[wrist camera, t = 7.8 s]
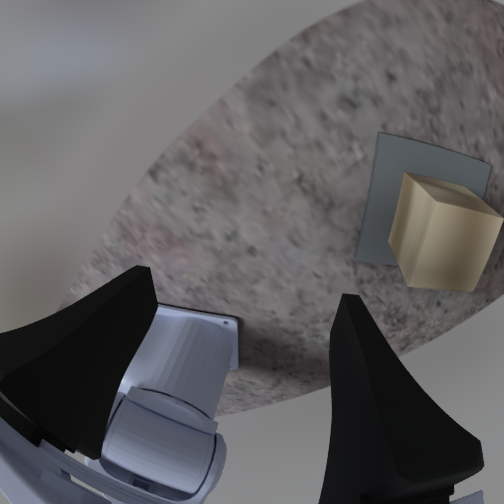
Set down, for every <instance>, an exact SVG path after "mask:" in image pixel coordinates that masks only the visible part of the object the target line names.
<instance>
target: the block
mask: <svg viewBox="0 0 504 504" xmlns="http://www.w3.org/2000/svg"><path fill="white" fill-rule="evenodd" d="M503 219H504V218H502V217H501V216H500V215H499V214H498V213H497V212H496V211H495V210H493V209H492V208H491V207H490V206H489V205H487V204H486V203H485V202H484V201H483V200H481V199H480V198H479V197H478V196H476V195H475V194H474V193H473V192H471V191H470V190H469V189H467V188H466V187H464V186H461V185H457V184H454V183H450V182H446V181H442V180H438V179H434V178H430V177H426V176H421V175H417V174H412V173H408V172H404V176H403V181H402V186H401V191H400V195H399V200H398V204H397V208H396V212H395V216H394V220H393V224H392V228H391V232H390V236H389V239H388V242H389V245H390V247H391V249H392V251H393V253H394V256H395V258H396V260H397V262H398V265H399V267H400V269H401V272H402V274H403V276H404V279H405V281H406V284H407V286H408V287H418V288H429V289H441V290H452V291H465V292H473V291H474V289H475V287H476V285H477V283H478V280H479V278H480V276H481V274H482V272H483V270H484V268H485V265H486V263H487V261H488V259H489V256H490V254H491V251H492V249H493V247H494V244H495V241H496V239H497V236H498V233H499V231H500V228H501V225H502V222H503Z"/></svg>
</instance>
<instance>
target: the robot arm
mask: <svg viewBox="0 0 504 504" xmlns="http://www.w3.org/2000/svg"><path fill="white" fill-rule="evenodd" d="M226 321H227V322H226ZM329 362H330V379H331V398H332V423H331V434H330V443H329V451H328V458H327V465H326V471H325V476H324V482H323V486H322V491H321V496H320V499H319V504H484V503H483V491H482V490H480V491H478V492H475V493H473V494H470V495H468V496H465V497H462V498H460V499H457V500H454V501H451V502H449V496H450V495H453V494H454V485H455V484H457V483H459V482H461V481H463V480H465V479H467V478H469V477H471V476H473V475H475V474H476V473H478V472H479V471H481V470H482V468H483V467H484V460H483V453H482V447H481V443H480V440H478V439H477V438H476V437H474V436H473V435H472V434H470V433H469V432H468V431H466V430H465V429H464V428H463V427H461V426H460V425H459V424H458V423H456V422H455V421H454V420H453V419H452V418H451V417H450V416H449V415H448V414H446V413H445V412H444V411H443V410H442V409H441V408H440V407H439V406H438V405H437V404H436V403H435V402H434V401H433V400H432V399H431V397H429V396H428V394H427V393H426V392H425V391H424V390H423V389H422V388H421V387H420V385H419V384H418V383H417V382H416V381H415V379H414V378H413V377H412V376H411V375H410V373H409V372H408V371H407V369H406V368H405V367H404V365H403V364H402V363H401V361H400V360H399V358H398V357H397V356H396V354H395V353H394V351H393V350H392V348H391V347H390V345H389V344H388V342H387V341H386V339H385V337H384V336H383V334H382V333H381V331H380V329H379V328H378V326H377V325H376V323H375V321H374V319H373V318H372V316H371V314H370V313H369V311H368V309H367V308H366V306H365V304H364V303H363V301H362V299H361V298H360V296H359V295H353V294H342V297H341V300H340V304H339V307H338V310H337V313H336V316H335V320H334V323H333V326H332V329H331V332H330V349H329ZM228 369H231V370H237V369H238V321H237V319H235V318H233V317H227V316H221V315H214V314H208V313H203V312H197V311H191V310H186V309H180V308H175V307H170V306H165V305H160V304H158V302H157V298H156V293H155V289H154V284H153V280H152V275H151V270H150V267H145V266H139V265H136V266H134V267H133V268H131V269H129V270H127V271H126V272H124V273H122V274H121V275H119V276H117V277H116V278H114V279H113V280H111V281H110V282H108V283H106V284H105V285H103V286H102V287H100V288H98V289H97V290H95V291H94V292H92V293H90V294H89V295H87V296H85V297H84V298H82V299H80V300H79V301H77V302H75V303H74V304H72V305H70V306H68V307H66V308H65V309H63V310H61V311H59V312H57V313H55V314H53V315H51V316H48V317H46V318H44V319H41V320H39V321H36V322H34V323H32V324H29V325H27V326H24V327H21V328H18V329H14V330H11V331H8V332H4V333H0V490H1V491H2V493H3V494H4V495H5V497H6V498H7V499H8V500H9V502H10V503H11V504H203V503H204V501H205V499H206V497H207V495H208V494H209V493H210V492H211V491H212V490H213V489H214V488H215V486H216V485H217V483H218V481H219V479H220V477H221V474H222V471H223V468H224V465H225V460H226V453H227V452H226V451H227V448H226V444H225V442H224V439H223V436H222V435H221V434H219V433H216V429H217V426H218V422H216V421H213V419H214V417H215V413H216V410H217V406H218V403H219V399H220V396H221V392H222V389H223V385H224V382H225V378H226V375H227V371H228ZM66 449H67V450H69V451H70V452H72V453H75V451H77V452H79V453H81V454H83V455H84V456H86V457H85V460H84V461H85V463H86V465H84V464H82V463H80V462H78V461H77V460H75V459H73V458H72V457H70V456H68V455H67V454H65V453H64V452H65V450H66ZM70 475H72V476H74V477H75V478H77V479H79V480H81V481H82V482H84V483H86V484H87V485H89V486H91V487H93V488H95V489H97V490H99V491H100V492H101V493H102V494H103V496H104V497H105V498H104V497H102V496H101V495H99V494H97V493H95V492H93V491H91V490H89V489H87V488H85V487H83V486H81V485H79V484H77V483H75V482H73V481H72V480H71V477H70Z"/></svg>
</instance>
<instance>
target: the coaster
mask: <svg viewBox="0 0 504 504" xmlns="http://www.w3.org/2000/svg"><path fill="white" fill-rule="evenodd" d="M490 168H491V165H490V164H488V163H486V162H484V161H481V160H478V159H475V158H473V157H470V156H467V155H464V154H461V153H458V152H455V151H452V150H448V149H445V148H442V147H438V146H435V145H431V144H428V143H424V142H420V141H416V140H413V139H408V138H404V137H400V136H396V135H391V134H387V133H382V132H378V135H377V143H376V150H375V157H374V163H373V169H372V175H371V181H370V186H369V192H368V197H367V202H366V207H365V212H364V217H363V221H362V226H361V230H360V235H359V239H358V243H357V247H356V251H355V255H354V257H355V261H360V262H369V263H377V264H386V265H394V266H399V265H398V262H397V260H396V258H395V256H394V253H393V251H392V249H391V247H390V245H389V242H388V239H389V236H390V232H391V228H392V224H393V220H394V216H395V212H396V208H397V204H398V200H399V195H400V191H401V186H402V181H403V176H404V172H408V173H412V174H417V175H421V176H426V177H430V178H434V179H438V180H442V181H446V182H450V183H454V184H457V185H461V186H464V187H466V188H467V189H469V190H470V191H471V192H473V193H474V194H475V195H476V196H478V197H479V198H480V199H481V200H483V196H484V193H485V189H486V185H487V181H488V177H489V173H490Z"/></svg>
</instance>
